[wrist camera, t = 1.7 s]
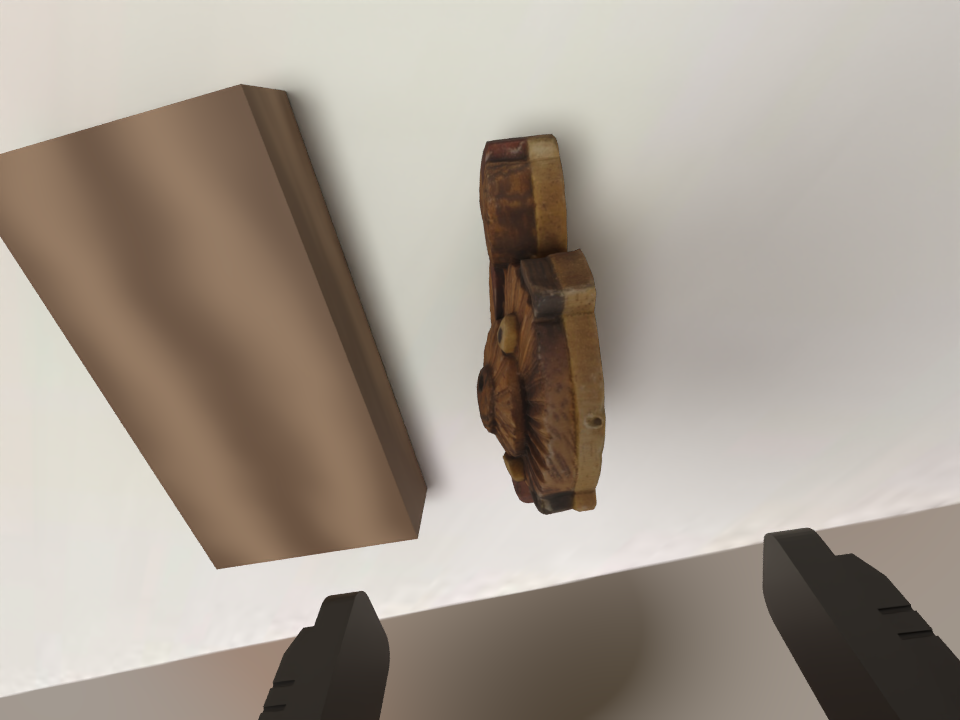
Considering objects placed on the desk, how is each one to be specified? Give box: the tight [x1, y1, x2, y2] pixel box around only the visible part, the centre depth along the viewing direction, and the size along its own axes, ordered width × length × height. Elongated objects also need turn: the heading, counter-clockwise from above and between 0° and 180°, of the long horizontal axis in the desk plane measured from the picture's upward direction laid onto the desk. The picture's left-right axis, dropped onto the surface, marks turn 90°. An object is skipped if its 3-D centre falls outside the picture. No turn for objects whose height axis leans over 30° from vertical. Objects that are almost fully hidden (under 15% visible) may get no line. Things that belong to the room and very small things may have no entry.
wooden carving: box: [477, 134, 606, 515], centre depth 20 cm, size 16×5×10 cm, turn 11°
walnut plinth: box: [0, 84, 427, 569], centre depth 24 cm, size 12×22×4 cm, turn 13°
